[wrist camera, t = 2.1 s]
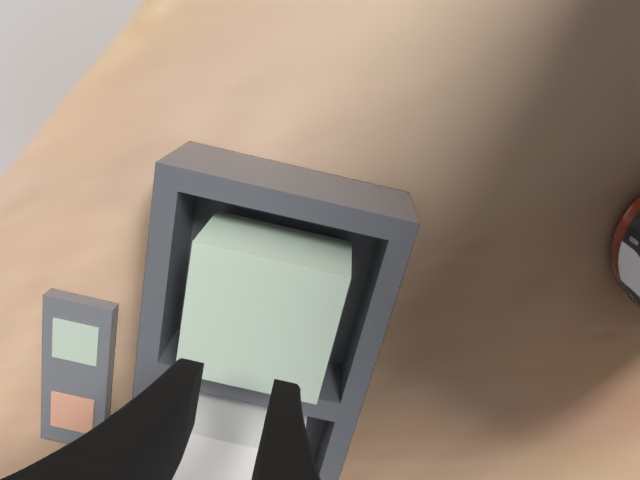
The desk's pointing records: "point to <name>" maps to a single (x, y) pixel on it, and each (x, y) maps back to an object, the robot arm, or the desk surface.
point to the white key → (223, 440)
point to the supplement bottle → (628, 252)
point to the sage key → (263, 303)
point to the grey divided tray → (295, 212)
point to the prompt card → (76, 364)
